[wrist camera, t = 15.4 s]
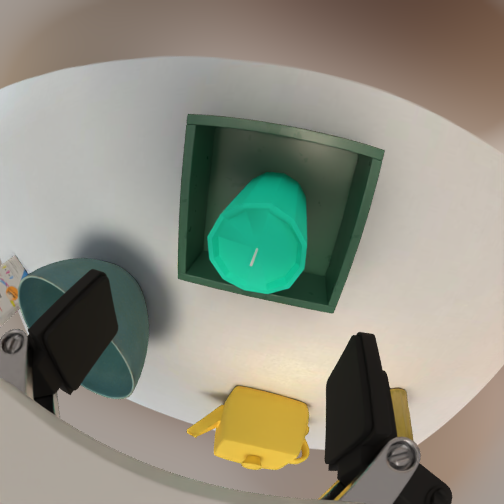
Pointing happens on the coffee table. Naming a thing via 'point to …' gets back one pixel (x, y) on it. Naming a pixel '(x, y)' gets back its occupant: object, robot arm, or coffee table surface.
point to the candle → (262, 235)
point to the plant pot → (127, 313)
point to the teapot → (258, 429)
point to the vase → (401, 413)
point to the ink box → (10, 288)
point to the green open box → (298, 168)
